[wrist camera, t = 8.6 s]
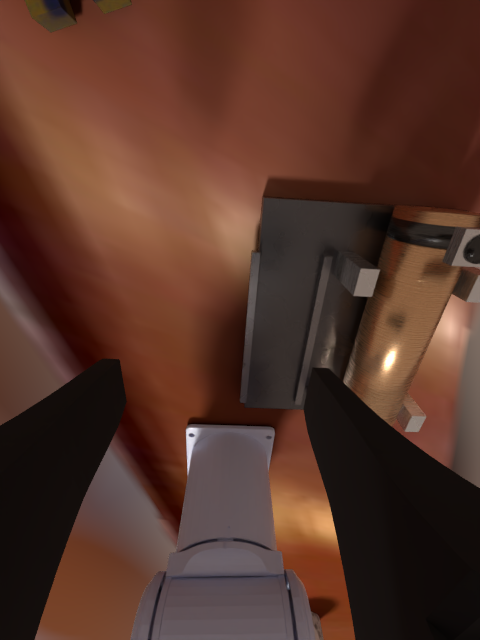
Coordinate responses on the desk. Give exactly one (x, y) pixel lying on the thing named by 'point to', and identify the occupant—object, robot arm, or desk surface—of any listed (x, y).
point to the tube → (404, 305)
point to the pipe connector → (65, 11)
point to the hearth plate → (304, 295)
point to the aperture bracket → (464, 248)
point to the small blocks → (362, 282)
